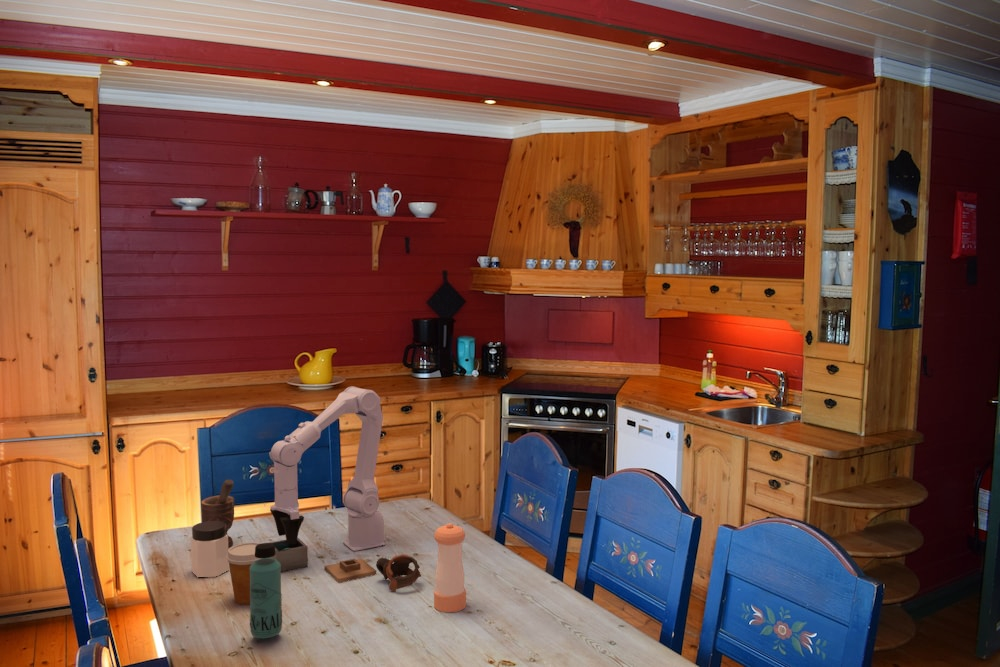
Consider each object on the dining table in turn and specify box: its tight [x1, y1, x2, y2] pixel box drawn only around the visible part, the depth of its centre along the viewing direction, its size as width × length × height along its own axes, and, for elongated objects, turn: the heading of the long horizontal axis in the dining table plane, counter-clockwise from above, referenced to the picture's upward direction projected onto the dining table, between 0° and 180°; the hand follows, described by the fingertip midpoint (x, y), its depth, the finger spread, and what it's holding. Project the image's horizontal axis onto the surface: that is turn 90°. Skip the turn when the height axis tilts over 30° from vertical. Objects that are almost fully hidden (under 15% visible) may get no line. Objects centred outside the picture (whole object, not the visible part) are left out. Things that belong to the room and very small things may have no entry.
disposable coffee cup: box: [226, 542, 263, 606], centre depth 182 cm, size 10×10×12 cm
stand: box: [323, 558, 377, 584], centre depth 199 cm, size 10×10×2 cm
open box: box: [269, 536, 309, 574], centre depth 203 cm, size 8×8×6 cm
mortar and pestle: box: [200, 479, 235, 549], centre depth 216 cm, size 12×9×20 cm
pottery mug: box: [375, 554, 422, 593], centre depth 191 cm, size 12×10×8 cm
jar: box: [190, 521, 230, 578], centre depth 199 cm, size 9×8×12 cm
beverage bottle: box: [248, 542, 283, 639], centre depth 162 cm, size 6×7×20 cm
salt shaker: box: [433, 522, 467, 613], centre depth 178 cm, size 7×7×19 cm
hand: (287, 539), depth 203 cm, fingers open, 7 cm apart
